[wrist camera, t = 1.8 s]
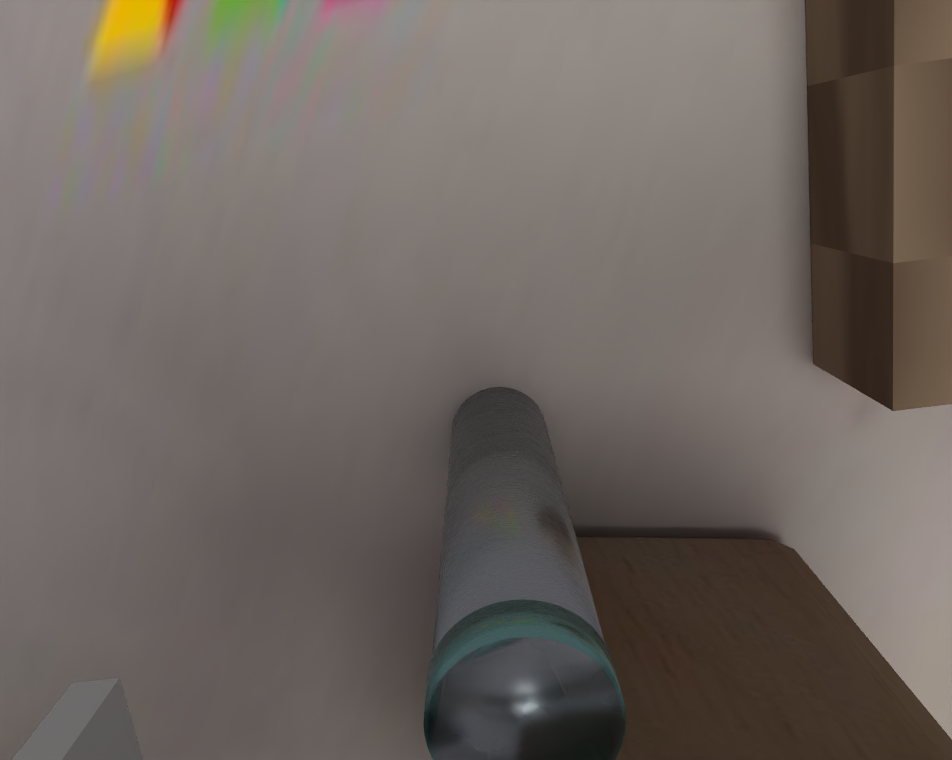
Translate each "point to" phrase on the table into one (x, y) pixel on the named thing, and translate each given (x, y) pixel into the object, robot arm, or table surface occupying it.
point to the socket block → (882, 196)
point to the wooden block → (745, 657)
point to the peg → (515, 603)
